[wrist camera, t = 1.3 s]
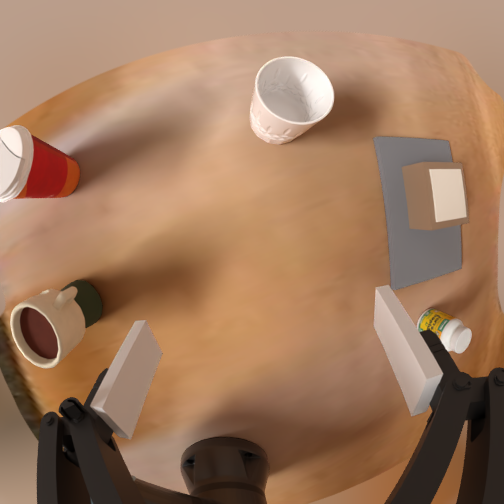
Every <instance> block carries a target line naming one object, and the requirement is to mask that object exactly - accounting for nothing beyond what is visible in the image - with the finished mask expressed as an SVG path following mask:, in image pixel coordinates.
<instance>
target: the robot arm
mask: <svg viewBox="0 0 504 504" xmlns="http://www.w3.org/2000/svg"><path fill="white" fill-rule="evenodd" d="M374 328H375V330H376V332H377V335H378V337H379V339H380V341H381V343H382V346H383V348H384V350H385V352H386V355H387V357H388V359H389V362H390V364H391V366H392V369H393V371H394V373H395V376H396V378H397V381H398V383H399V385H400V388H401V390H402V393H403V395H404V398H405V401H406V403H407V406H408V408H409V411H410V414H411V416H415V415H418V414H420V413H423V412H426V411H427V409H428V407H429V405H430V406H431V408H432V413H431V415H430V417H429V419H428V421H427V422H428V423H427V425H426V427H425V430H424V432H423V434H422V436H421V439H420V441H419V443H418V445H417V447H416V449H415V451H414V453H413V455H412V457H411V459H410V461H409V463H408V465H407V467H406V469H405V470H404V472H403V474H402V476H401V477H400V479H399V481H398V483H397V484H396V486H395V488H394V489H393V491H392V492H391V494H390V496H389V497H388V499H387V500H386V502H385V504H431V502H432V500H433V498H434V496H435V494H436V492H437V490H438V488H439V486H440V484H441V482H442V480H443V477H444V475H445V473H446V471H447V468H448V466H449V463H450V461H451V459H452V456H453V454H454V451H455V448H456V446H457V443H458V440H459V437H460V434H461V431H462V428H463V425H464V422H465V420H468V428H467V429H468V430H467V441H466V452H465V459H464V467H463V473H462V479H461V484H460V489H459V494H458V499H457V503H456V504H504V368H495V369H493V370H492V371H491V372H490V374H489V376H487V377H479V378H472V377H471V376H469V375H468V374H466V373H464V372H460V371H459V369H458V367H457V366H456V364H455V362H454V361H453V359H452V358H451V356H450V354H449V353H448V351H447V350H446V349H445V346H444V345H443V344H442V342H441V340H440V339H439V337H438V336H437V334H435V333H434V332H433V331H431V330H430V329H428V330H424V331H421V332H419V331H418V329H417V328H416V326H415V324H414V323H413V321H412V320H411V318H410V317H409V315H408V313H407V312H406V310H405V309H404V307H403V306H402V304H401V303H400V301H399V300H398V298H397V297H396V295H395V294H394V292H393V291H392V289H391V288H390V286H389V285H385V286H380V287H376V296H375V314H374ZM162 354H163V353H162V351H161V349H160V347H159V345H158V343H157V341H156V339H155V337H154V335H153V333H152V331H151V329H150V327H149V325H148V323H147V321H146V320H139V321H135V322H134V324H133V326H132V328H131V329H130V331H129V333H128V335H127V336H126V338H125V340H124V342H123V344H122V345H121V347H120V349H119V351H118V353H117V355H116V356H115V358H114V360H113V362H112V364H111V366H110V368H109V369H108V368H106V369H105V370H104V371H103V372H102V373H101V374H100V375H99V377H98V379H97V380H96V383H95V384H94V386H93V389H92V390H91V392H90V394H89V396H88V398H87V400H86V402H85V404H84V406H83V405H82V404H81V403H80V402H79V401H78V400H77V399H76V398H73V397H70V398H67V399H66V400H64V401H63V402H62V403H61V405H60V407H59V413H60V414H61V415H62V416H63V417H59V416H58V415H57V414H56V413H55V412H48V413H46V414H45V415H44V416H43V418H42V420H41V425H40V433H39V444H38V459H37V504H267V501H266V497H265V487H266V483H267V478H268V474H269V463H268V459H267V455H266V453H265V452H264V451H263V449H261V448H260V447H259V446H257V445H256V444H254V443H252V442H249V441H246V440H242V439H237V438H226V437H223V438H211V439H206V440H203V441H200V442H197V443H195V444H193V445H191V446H190V447H189V448H187V449H186V450H185V452H184V453H183V455H182V458H181V473H182V476H183V479H184V481H185V484H186V486H187V489H188V491H189V494H190V495H187V494H184V493H180V492H176V491H173V490H169V489H166V488H163V487H160V486H157V485H154V484H151V483H148V482H145V481H142V480H140V479H137V478H136V477H134V476H131V475H130V473H129V470H128V468H127V466H126V464H125V462H124V460H123V458H122V456H121V453H120V451H119V449H118V446H117V444H116V442H115V439H114V438H113V437H112V433H113V431H114V432H115V433H116V434H117V435H118V436H119V437H122V438H128V439H131V438H132V435H133V432H134V429H135V426H136V424H137V421H138V418H139V415H140V412H141V409H142V407H143V404H144V401H145V398H146V396H147V393H148V390H149V388H150V385H151V382H152V380H153V377H154V374H155V372H156V369H157V366H158V364H159V361H160V359H161V356H162ZM63 447H64V451H63V450H62V449H63Z"/></svg>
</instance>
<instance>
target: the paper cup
mask: <svg viewBox="0 0 504 504" xmlns="http://www.w3.org/2000/svg"><path fill="white" fill-rule="evenodd" d="M79 179H80V169H79V166H78V163H77V162H76V161H75V160H74V159H73V158H71V157H70V156H68V155H66V154H65V153H63V152H61V151H60V150H58V149H56V148H54V147H52V146H51V145H49V144H47V143H45V142H43V141H42V140H40V139H38V138H36V137H35V136H33V135H31V134H30V132H29V131H28V130H27V129H26V128H25V127H23V126H20V125H15V126H11V127H6V128H4V129H1V130H0V202H6V201H9V200H11V199H20V198H60V197H66V196H68V195H70V194H71V193H72V192H73V191H74V190H75V188H76V187H77V185H78V182H79Z"/></svg>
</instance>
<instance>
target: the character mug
mask: <svg viewBox="0 0 504 504" xmlns="http://www.w3.org/2000/svg"><path fill="white" fill-rule="evenodd" d="M101 315H102V302H101V299H100V296H99V294H98V293H97V291H96V290H95V289H94V287H93V286H92V285H90V284H89V283H88V282H86V281H82V280H76V281H74V282H71V283H70V284H68V285H67V286H65V287H64V288H63V289H62V290H61V291H59V290H55V289H48V290H45V291H43V292H42V293H40V294H39V295H36V296H33V297H30V298H28V299H27V300H25V301H23V302H21V303H19V304H18V305H17V306H16V307H15V308H14V309H13V311H12V314H11V322H10V324H11V330H12V335H13V338H14V340H15V342H16V345H17V347H18V348H19V350H20V351H21V352H22V354H23V355H24V357H25V358H27V359H28V360H29V361H30V362H31V363H33V364H34V365H36V366H39V367H42V368H53V367H54V366H56V365H57V364H58V363H59V362H60V361H61V360H62V359H63V358H64V357H65V356H66V355H67V354H68V353H69V352H70V351H71V350H72V349H73V348H74V347H75V346H76V345H77V344H78V343H79V342H80V341H81V340H82V339H83V336H84V333H85V330H86V329H85V328H87V327H89V326H91V325H93V324H94V323H96V322H97V321H98V319H99V318H100V316H101Z"/></svg>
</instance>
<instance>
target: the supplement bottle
mask: <svg viewBox="0 0 504 504" xmlns="http://www.w3.org/2000/svg"><path fill="white" fill-rule="evenodd" d="M417 329H418V331H419V332H421V331H424V330H428V329H430V330H431V331H433V332H434V333H435V334H437V336H438V337H439V339H440V340H441V342H442V344H443V345H444V346H445V349H446V350H447V351H454V352H456V353H462V352H463V351H465V349H466V348H467V347H468V345H469V343H470V341H471V336H472V332H471V330H470V329H469V328H467V327H465V326H463V323H462V321H461V320H459V319H457V318H455V317H453V316H450V315H448V314H446V313H443V312H441V311H438V310H436V309H433V308H430V309H427V310H426V311H424V312H423V313H422V315H421V316H420V318H419V320H418V323H417Z"/></svg>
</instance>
